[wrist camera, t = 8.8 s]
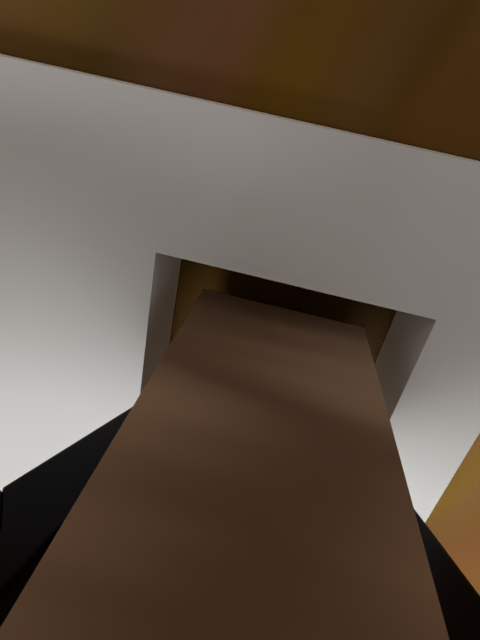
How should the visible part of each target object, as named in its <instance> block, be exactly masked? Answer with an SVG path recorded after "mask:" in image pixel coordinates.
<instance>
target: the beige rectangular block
mask: <svg viewBox="0 0 480 640" xmlns="http://www.w3.org/2000/svg"><path fill="white" fill-rule="evenodd" d="M0 640H449V636H448V632H447V629H446V625H445V621H444V618H443V614H442V610H441V607H440V603H439V599H438V596H437V592H436V588H435V585H434V581H433V577H432V574H431V570H430V566H429V563H428V559H427V555H426V552H425V548H424V544H423V540H422V537H421V533H420V529H419V526H418V522H417V518H416V515H415V511H414V507H413V504H412V500H411V496H410V493H409V489H408V485H407V482H406V478H405V474H404V471H403V467H402V463H401V460H400V456H399V452H398V449H397V445H396V441H395V438H394V434H393V430H392V426H391V423H390V419H389V415H388V412H387V408H386V404H385V401H384V397H383V393H382V390H381V386H380V382H379V379H378V375H377V371H376V368H375V364H374V360H373V357H372V353H371V349H370V346H369V342H368V338H367V335H366V331H365V328H364V327H360V326H355V325H351V324H347V323H343V322H339V321H335V320H331V319H327V318H322V317H318V316H314V315H310V314H306V313H302V312H298V311H293V310H289V309H285V308H281V307H277V306H273V305H269V304H265V303H260V302H256V301H252V300H248V299H244V298H240V297H236V296H231V295H227V294H223V293H219V292H215V291H211V290H207V289H203V290H202V292H201V294H200V295H199V297H198V299H197V300H196V302H195V304H194V305H193V307H192V309H191V310H190V312H189V314H188V315H187V317H186V319H185V320H184V322H183V324H182V325H181V327H180V329H179V330H178V332H177V334H176V335H175V337H174V339H173V340H172V342H171V344H170V345H169V347H168V349H167V350H166V352H165V354H164V355H163V357H162V359H161V360H160V362H159V364H158V365H157V367H156V369H155V370H154V372H153V374H152V375H151V377H150V379H149V380H148V382H147V384H146V385H145V387H144V389H143V390H142V392H141V394H140V395H139V397H138V399H137V400H136V402H135V404H134V405H133V407H132V409H131V410H130V412H129V414H128V415H127V417H126V419H125V420H124V422H123V424H122V425H121V427H120V429H119V430H118V432H117V434H116V435H115V437H114V439H113V440H112V442H111V444H110V445H109V447H108V449H107V450H106V452H105V454H104V455H103V457H102V459H101V460H100V462H99V464H98V465H97V467H96V469H95V470H94V472H93V474H92V475H91V477H90V479H89V480H88V482H87V484H86V485H85V487H84V489H83V490H82V492H81V494H80V495H79V497H78V499H77V500H76V502H75V504H74V505H73V507H72V509H71V510H70V512H69V514H68V515H67V517H66V519H65V520H64V522H63V524H62V525H61V527H60V529H59V530H58V532H57V534H56V535H55V537H54V539H53V540H52V542H51V544H50V545H49V547H48V549H47V550H46V552H45V554H44V555H43V557H42V559H41V560H40V562H39V564H38V566H37V567H36V569H35V571H34V572H33V574H32V576H31V577H30V579H29V581H28V582H27V584H26V586H25V587H24V589H23V591H22V592H21V594H20V596H19V597H18V599H17V601H16V602H15V604H14V606H13V607H12V609H11V611H10V612H9V614H8V616H7V617H6V619H5V621H4V622H3V624H2V626H1V627H0Z"/></svg>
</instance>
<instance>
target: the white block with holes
mask: <svg viewBox="0 0 480 640" xmlns="http://www.w3.org/2000/svg"><path fill="white" fill-rule="evenodd" d="M181 259H185V260H189V261H193V262H197V263H202V264H206V265H210V266H214V267H218V268H222V269H226V270H231V271H235V272H239V273H243V274H247V275H251V276H256V277H260V278H264V279H268V280H272V281H276V282H281V283H285V284H289V285H293V286H297V287H301V288H305V289H310V290H314V291H318V292H322V293H326V294H330V295H335V296H339V297H343V298H347V299H351V300H355V301H360V302H364V303H368V304H372V305H376V306H380V307H384V308H389V309H393V310H397V311H396V314H395V316H394V318H393V321H392V323H391V326H390V328H389V330H388V333H387V335H386V338H385V340H384V343H383V345H382V347H381V350H380V352H379V355H378V357H377V359H376V362H375V368H376V371H377V375H378V379H379V382H380V386H381V390H382V393H383V397H384V401H385V404H386V408H387V412H388V415H389V419H390V423H391V426H392V430H393V434H394V438H395V441H396V445H397V449H398V452H399V456H400V460H401V463H402V467H403V471H404V474H405V478H406V482H407V485H408V489H409V493H410V496H411V500H412V504H413V507H414V509H415V510H416V512H417V513H418V514H419V516H420V517H421V518H422V520H423V521H424V522H426V520H427V518H428V517H429V515H430V514H431V512H432V510H433V509H434V507H435V505H436V504H437V502H438V500H439V499H440V497H441V495H442V494H443V492H444V490H445V489H446V487H447V486H448V484H449V482H450V481H451V479H452V477H453V476H454V474H455V472H456V471H457V469H458V467H459V466H460V464H461V462H462V461H463V459H464V458H465V456H466V454H467V453H468V451H469V449H470V448H471V446H472V444H473V443H474V441H475V439H476V438H477V436H478V434H479V433H480V161H478V160H473V159H469V158H464V157H460V156H455V155H451V154H446V153H442V152H437V151H433V150H428V149H424V148H420V147H415V146H411V145H406V144H402V143H397V142H393V141H388V140H384V139H379V138H375V137H370V136H366V135H361V134H357V133H353V132H348V131H344V130H339V129H335V128H330V127H326V126H321V125H317V124H312V123H308V122H303V121H299V120H295V119H290V118H286V117H281V116H277V115H272V114H268V113H263V112H259V111H254V110H250V109H245V108H241V107H237V106H232V105H228V104H223V103H219V102H214V101H210V100H205V99H201V98H196V97H192V96H187V95H183V94H179V93H174V92H170V91H165V90H161V89H156V88H152V87H147V86H143V85H138V84H134V83H129V82H125V81H121V80H116V79H112V78H107V77H103V76H98V75H94V74H89V73H85V72H80V71H76V70H71V69H67V68H62V67H58V66H54V65H49V64H45V63H40V62H36V61H31V60H27V59H22V58H18V57H13V56H9V55H4V54H0V490H1V491H2V489H3V487H5V486H6V485H8V484H9V483H11V482H13V481H14V480H16V479H17V478H19V477H21V476H22V475H24V474H25V473H27V472H29V471H30V470H32V469H33V468H35V467H37V466H38V465H40V464H41V463H43V462H45V461H46V460H48V459H49V458H51V457H53V456H54V455H56V454H57V453H59V452H61V451H62V450H64V449H65V448H67V447H69V446H70V445H72V444H73V443H75V442H77V441H78V440H80V439H81V438H83V437H85V436H86V435H88V434H89V433H91V432H93V431H94V430H96V429H97V428H99V427H101V426H102V425H104V424H105V423H107V422H109V421H110V420H112V419H113V418H115V417H117V416H118V415H120V414H121V413H123V412H125V411H126V410H128V409H129V408H131V407H133V405H134V404H135V402H136V400H137V399H138V397H139V395H140V394H141V392H142V390H143V389H144V387H145V385H146V384H147V382H148V380H149V379H150V377H151V375H152V374H153V372H154V370H155V369H156V367H157V365H158V364H159V362H160V360H161V359H162V357H163V355H164V354H165V352H166V350H167V349H168V347H169V344H170V337H171V329H172V322H173V315H174V308H175V301H176V294H177V286H178V279H179V272H180V265H181Z"/></svg>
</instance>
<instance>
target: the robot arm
mask: <svg viewBox="0 0 480 640" xmlns="http://www.w3.org/2000/svg"><path fill="white" fill-rule="evenodd" d="M131 409H132V407H131V408H129V409H128V410H126V411H125V412H123V413H121V414H120V415H118V416H117V417H115V418H113V419H112V420H110V421H109V422H107V423H105V424H104V425H102V426H101V427H99V428H97V429H96V430H94V431H93V432H91V433H89V434H88V435H86V436H85V437H83V438H81V439H80V440H78V441H77V442H75V443H73V444H72V445H70V446H69V447H67V448H65V449H64V450H62V451H61V452H59V453H57V454H56V455H54V456H53V457H51V458H49V459H48V460H46V461H45V462H43V463H41V464H40V465H38V466H37V467H35V468H33V469H32V470H30V471H29V472H27V473H25V474H24V475H22V476H21V477H19V478H17V479H16V480H14V481H13V482H11V483H9V484H8V485H6V486H5V487H3V489H2V491H1V490H0V627H1V626H2V624H3V622H4V621H5V619H6V617H7V616H8V614H9V612H10V611H11V609H12V607H13V606H14V604H15V602H16V601H17V599H18V597H19V596H20V594H21V592H22V591H23V589H24V587H25V586H26V584H27V582H28V581H29V579H30V577H31V576H32V574H33V572H34V571H35V569H36V567H37V566H38V564H39V562H40V560H41V559H42V557H43V555H44V554H45V552H46V550H47V549H48V547H49V545H50V544H51V542H52V540H53V539H54V537H55V535H56V534H57V532H58V530H59V529H60V527H61V525H62V524H63V522H64V520H65V519H66V517H67V515H68V514H69V512H70V510H71V509H72V507H73V505H74V504H75V502H76V500H77V499H78V497H79V495H80V494H81V492H82V490H83V489H84V487H85V485H86V484H87V482H88V480H89V479H90V477H91V475H92V474H93V472H94V470H95V469H96V467H97V465H98V464H99V462H100V460H101V459H102V457H103V455H104V454H105V452H106V450H107V449H108V447H109V445H110V444H111V442H112V440H113V439H114V437H115V435H116V434H117V432H118V430H119V429H120V427H121V425H122V424H123V422H124V420H125V419H126V417H127V415H128V414H129V412H130V410H131ZM414 511H415V515H416V518H417V522H418V526H419V529H420V533H421V537H422V540H423V544H424V548H425V552H426V555H427V559H428V563H429V566H430V570H431V574H432V577H433V581H434V585H435V588H436V592H437V596H438V599H439V603H440V607H441V610H442V614H443V618H444V621H445V625H446V629H447V632H448V636H449V640H480V596H479V594H478V593H477V592H476V590H475V589H474V588H473V586H472V585H471V584H470V582H469V581H468V580H467V578H466V577H465V576H464V574H463V573H462V572H461V570H460V569H459V568H458V566H457V565H456V564H455V562H454V561H453V560H452V558H451V557H450V556H449V554H448V553H447V552H446V550H445V549H444V548H443V546H442V545H441V544H440V542H439V541H438V540H437V538H436V537H435V536H434V534H433V533H432V532H431V530H430V529H429V528H428V526H427V525H426V524H425V522H424V521H423V520H422V518H421V517H420V516H419V514H418V513H417V512H416V510H415V509H414Z"/></svg>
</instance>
